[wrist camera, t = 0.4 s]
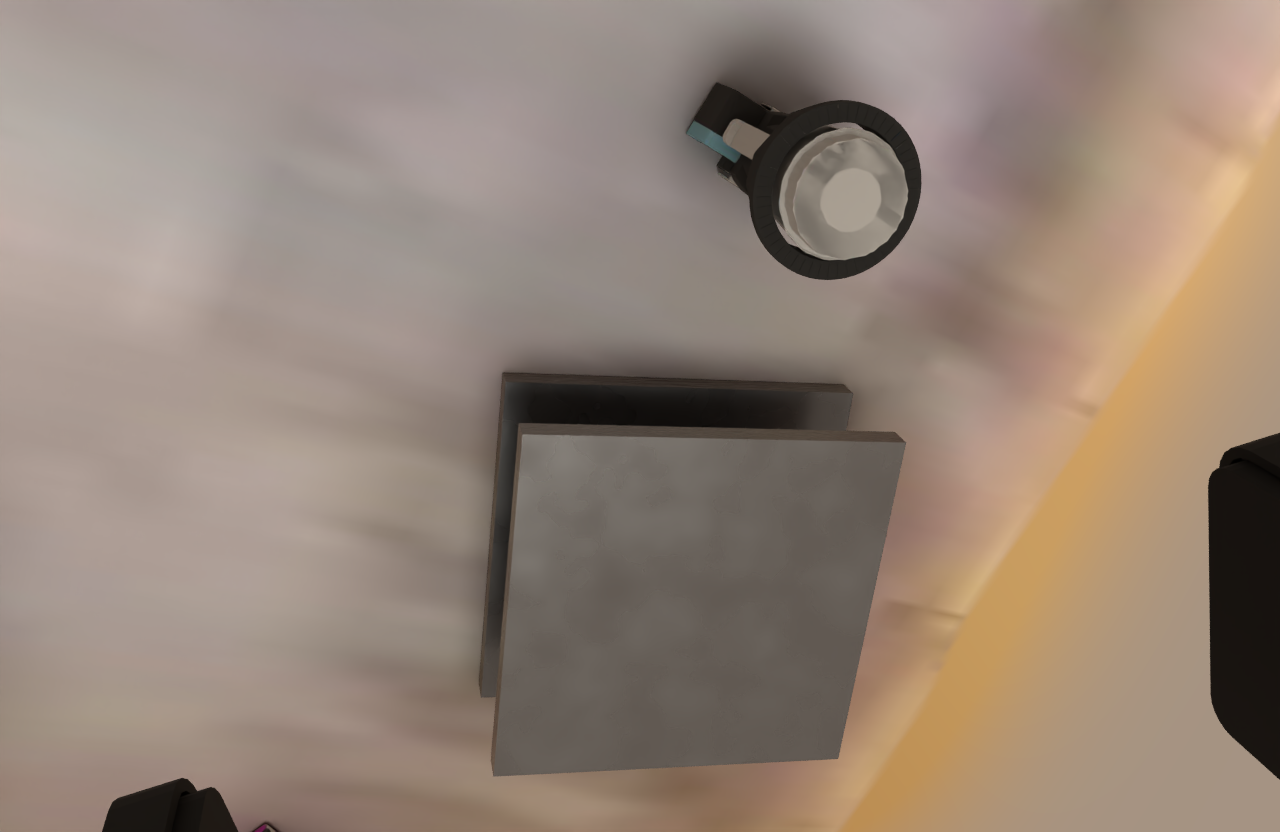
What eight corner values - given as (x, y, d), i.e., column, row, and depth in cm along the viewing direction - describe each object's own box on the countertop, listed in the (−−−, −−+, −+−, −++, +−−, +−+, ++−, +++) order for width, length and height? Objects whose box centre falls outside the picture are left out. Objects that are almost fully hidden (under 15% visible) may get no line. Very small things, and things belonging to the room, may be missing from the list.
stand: (502, 372, 44) (522, 434, 38) (843, 384, 47) (906, 442, 42) (478, 683, 49) (493, 776, 43) (788, 673, 52) (838, 758, 47)
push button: (869, 135, 43) (1002, 188, 34) (792, 256, 45) (900, 338, 36) (728, 40, 41) (832, 70, 32) (650, 170, 42) (729, 235, 33)
